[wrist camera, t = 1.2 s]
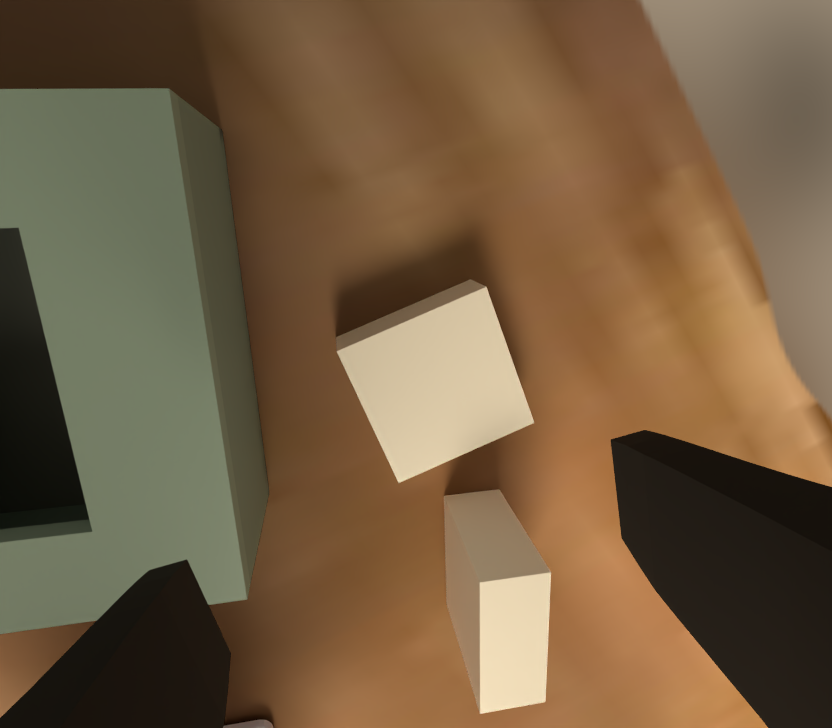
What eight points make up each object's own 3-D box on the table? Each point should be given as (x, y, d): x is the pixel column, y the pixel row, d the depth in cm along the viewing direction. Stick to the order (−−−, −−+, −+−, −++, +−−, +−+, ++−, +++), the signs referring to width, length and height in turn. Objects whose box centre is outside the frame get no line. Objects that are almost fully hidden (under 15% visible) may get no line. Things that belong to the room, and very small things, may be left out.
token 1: (512, 400, 20) (534, 422, 18) (390, 454, 20) (398, 482, 18) (468, 277, 18) (486, 286, 16) (335, 334, 18) (336, 351, 16)
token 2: (498, 595, 22) (545, 702, 17) (446, 603, 22) (480, 714, 17) (498, 488, 20) (551, 572, 16) (443, 495, 20) (479, 582, 15)
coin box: (269, 492, 19) (247, 599, 14) (-41, 527, 17) (-197, 661, 12) (222, 130, 15) (168, 88, 10) (-167, 135, 14) (-459, 91, 9)
